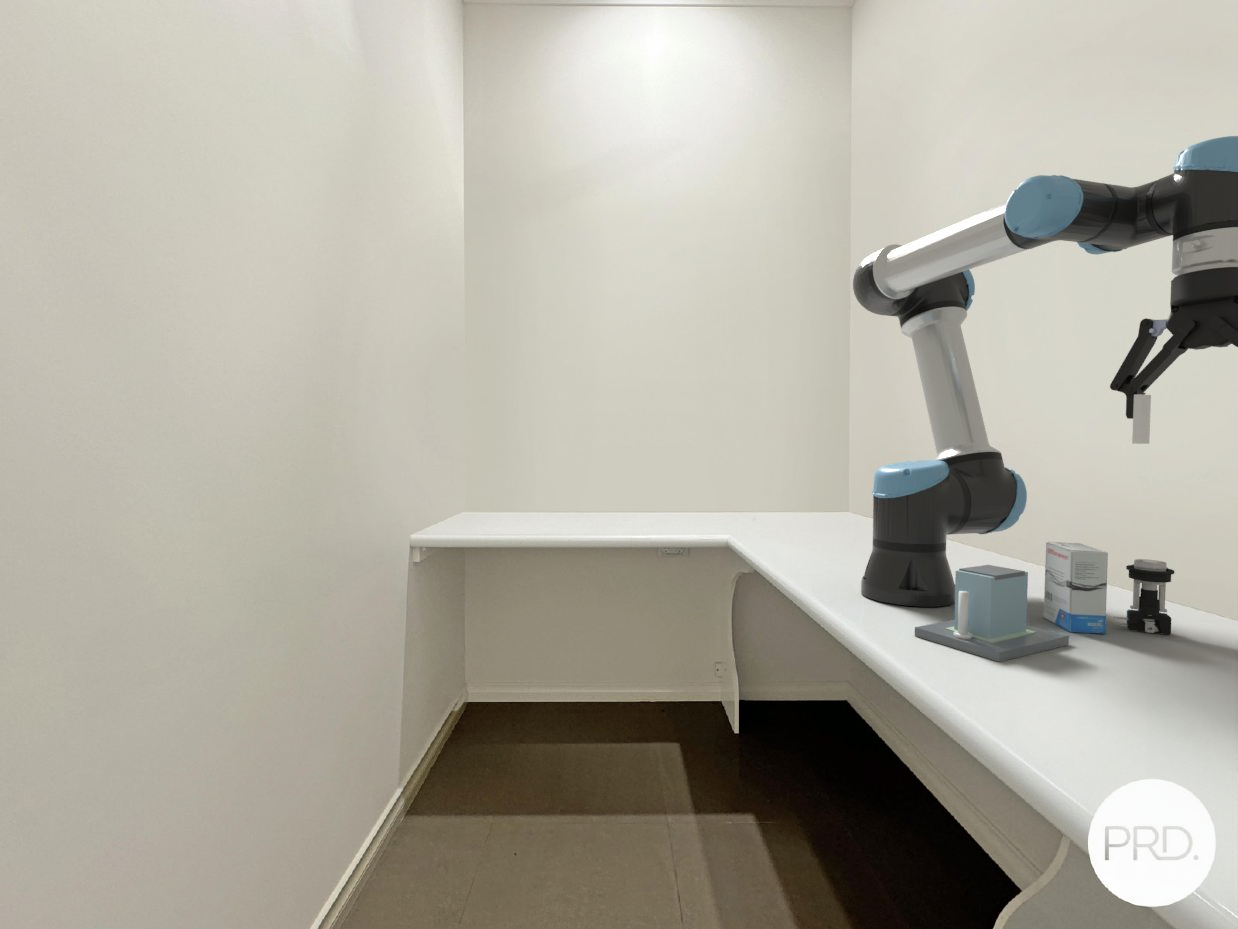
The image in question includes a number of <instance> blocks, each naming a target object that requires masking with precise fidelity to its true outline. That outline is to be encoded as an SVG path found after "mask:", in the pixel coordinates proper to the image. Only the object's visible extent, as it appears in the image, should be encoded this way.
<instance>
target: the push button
mask: <svg viewBox="0 0 1238 929" xmlns="http://www.w3.org/2000/svg"><path fill="white" fill-rule="evenodd" d="M1133 561H1134V562H1133V563H1132V564H1128V565H1126V567H1125V568H1126V570H1127V571H1128V578H1129V579H1131V580H1133V591H1132V594H1133V595H1132V605H1130V606H1129V607H1130V609H1127V610H1126V616H1125V617H1124V616H1121V617H1120V616H1113V619H1118V620H1125V621H1126V622H1125V623H1120V622H1119V623H1118V622H1113V623H1112V624H1113V625H1116V626H1124V627H1127V629H1128V630H1129V631H1131V632H1138V633H1139V632H1140V633H1141V632H1142V633H1150V634H1156V635H1157V634H1160V635H1163V636H1170V635H1171V634H1172V617H1171V616H1170V615H1169V614H1168V609H1167V608H1166V590H1167V589H1166V585H1167V584H1166V583H1171V582H1172V575H1175V569H1172V568H1169V567H1168V566H1167V562H1165V561H1163V560H1154V559H1140V558H1139V559H1138V558H1137V559H1134V560H1133Z"/></svg>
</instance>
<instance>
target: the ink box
mask: <svg viewBox="0 0 1238 929" xmlns="http://www.w3.org/2000/svg"><path fill="white" fill-rule="evenodd" d="M1108 556H1109V553H1108V552H1107V551H1103V550H1101V549H1097V548H1096V547H1095V548H1094V547H1092V546H1088V545H1085V544H1083V543H1080V542H1064V541H1063V542H1061V541H1060V542H1059V541H1047V542H1045V564H1044V567H1045V568H1044V571H1045V572H1044V597H1043V598H1044V599H1043V600H1044V601H1043V618H1045V619H1046V620H1048V621H1050V622H1051V623H1053V624H1055V625H1057V626H1058V627H1060V628H1061V629H1064V630H1065V631H1067V632H1069V633H1080V634H1081V633H1086V634H1101V635H1102V634H1103V635H1104V634H1106V631H1107V630H1106V627H1107V626H1106V625H1107V624H1106V623H1107V599H1108V598H1107V594H1108V591H1107V589H1108V559H1109V558H1108Z"/></svg>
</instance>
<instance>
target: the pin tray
mask: <svg viewBox="0 0 1238 929" xmlns="http://www.w3.org/2000/svg"><path fill="white" fill-rule="evenodd" d="M968 616H969V592H967V591H959V603H958V630H956V629H954V619H951V620H946V621H941V622H935V623H930V624H925V625H920V626H915V627H914V637H917V638H921V639H924V640H927V641H931V642H933V643H937V644H940V645H944V646H947V647H950V648H953V649H956V650H958V651H962V652H966V653H969V654H972V655H976V656H978V657H982V658H985V659H989V660H991V661H995V662H998V663H1000V662H1004V661H1007V660H1012V659H1016V658H1020V657H1021V658H1022V657H1024V656H1025V657H1026V656H1029V655H1032V654H1037V653H1040V652H1044V651H1048V650H1053V649H1056V648H1062V647H1066V646H1068V645H1070V635H1067V634H1064V633H1059V632H1055V631H1053V630H1048V629H1044V628H1039V627H1036V626H1031V625H1027V624H1026V631H1023V632H1019V633H1014V634H1010V635H1005V636H1001V637H997V638H992V639H988V638H984V637H981V636H977V635H974V634H971V633H969V632H968Z"/></svg>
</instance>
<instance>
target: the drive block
mask: <svg viewBox="0 0 1238 929" xmlns="http://www.w3.org/2000/svg"><path fill="white" fill-rule="evenodd" d="M1028 577H1029V572H1028V571H1025V570H1020V569H1016V568H1010V567H1009V568H1008V567H1002V566H997V565H990V564H983V565H977V566H969V567H962V568H959V569H958V570H955V578H954V579H955V581H954V584H955V603H954V619H953V620H954V629H956V630H958V603H959V591H967V592H969V616H968V632H969V633H971V634H974V635H977V636H981V637H984V638H988V639H992V638H997V637H1001V636H1005V635H1010V634H1014V633H1019V632H1023V631H1026V625H1027V624H1028V623H1027V618H1028V616H1027V615H1028V587H1029V586H1028V585H1029V584H1028V583H1029V581H1028V579H1029V578H1028Z"/></svg>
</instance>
